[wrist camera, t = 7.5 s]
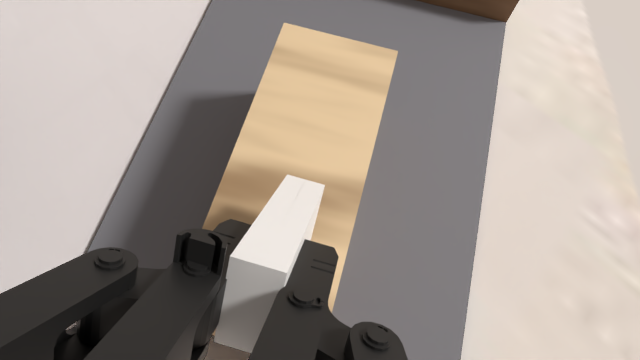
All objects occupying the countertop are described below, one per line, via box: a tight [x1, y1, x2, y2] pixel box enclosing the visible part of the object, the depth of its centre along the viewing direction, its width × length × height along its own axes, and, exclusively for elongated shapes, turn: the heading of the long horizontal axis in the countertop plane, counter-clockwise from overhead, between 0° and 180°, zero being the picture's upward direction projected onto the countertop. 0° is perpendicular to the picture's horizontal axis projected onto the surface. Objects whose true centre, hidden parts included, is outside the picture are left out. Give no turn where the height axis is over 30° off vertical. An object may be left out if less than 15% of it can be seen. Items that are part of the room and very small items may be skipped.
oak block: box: [202, 23, 398, 336], centre depth 23 cm, size 6×6×15 cm
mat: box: [87, 0, 506, 360], centre depth 28 cm, size 24×20×1 cm
